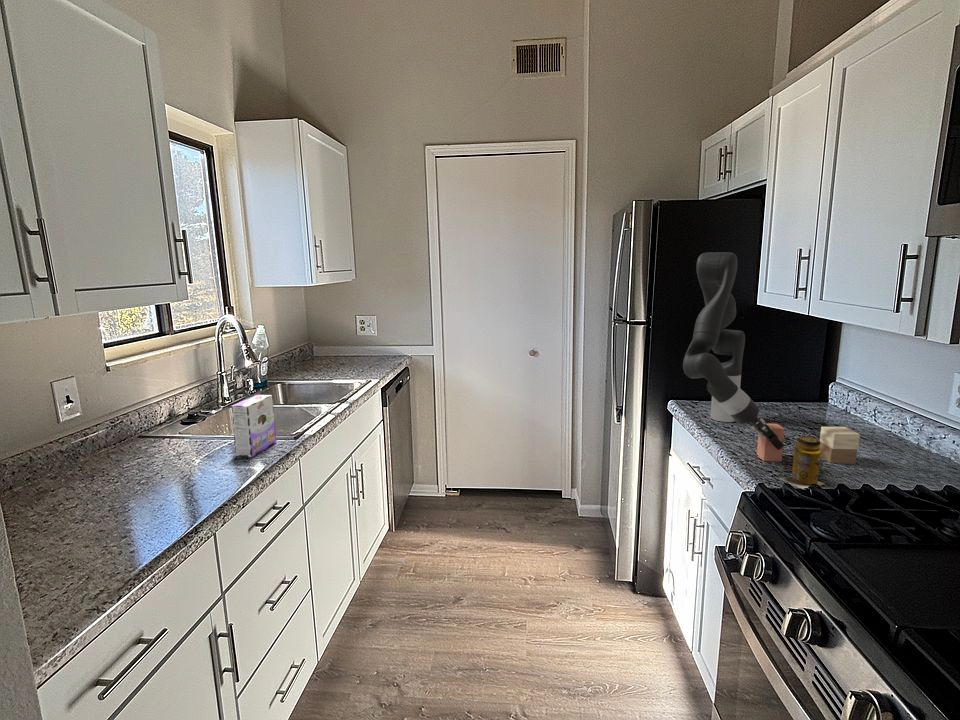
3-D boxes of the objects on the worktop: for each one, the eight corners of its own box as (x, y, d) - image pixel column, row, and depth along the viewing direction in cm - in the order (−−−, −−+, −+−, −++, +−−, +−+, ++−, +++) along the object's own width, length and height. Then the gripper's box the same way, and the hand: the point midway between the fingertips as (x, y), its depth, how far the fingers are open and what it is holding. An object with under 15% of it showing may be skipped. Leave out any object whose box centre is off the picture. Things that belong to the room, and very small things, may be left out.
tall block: (756, 454, 165) (759, 423, 163) (773, 455, 165) (776, 423, 163) (763, 460, 160) (766, 428, 159) (781, 461, 160) (784, 428, 158)
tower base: (817, 454, 165) (819, 440, 164) (841, 455, 165) (843, 441, 164) (830, 463, 158) (831, 448, 158) (855, 464, 158) (857, 449, 157)
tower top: (819, 440, 164) (821, 426, 163) (843, 441, 164) (845, 426, 163) (832, 448, 157) (834, 434, 157) (858, 449, 157) (859, 434, 156)
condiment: (825, 484, 144) (830, 440, 142) (803, 490, 141) (808, 445, 138) (799, 474, 151) (803, 433, 148) (778, 479, 147) (782, 437, 145)
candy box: (261, 441, 181) (257, 393, 178) (277, 442, 180) (273, 394, 177) (234, 456, 168) (229, 404, 165) (251, 457, 167) (247, 405, 164)
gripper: (758, 402, 153) (798, 444, 154) (738, 390, 167) (776, 428, 168) (737, 420, 154) (777, 461, 155) (719, 406, 168) (756, 444, 169)
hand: (776, 444), depth 162 cm, fingers closed on tall block, 5 cm apart
